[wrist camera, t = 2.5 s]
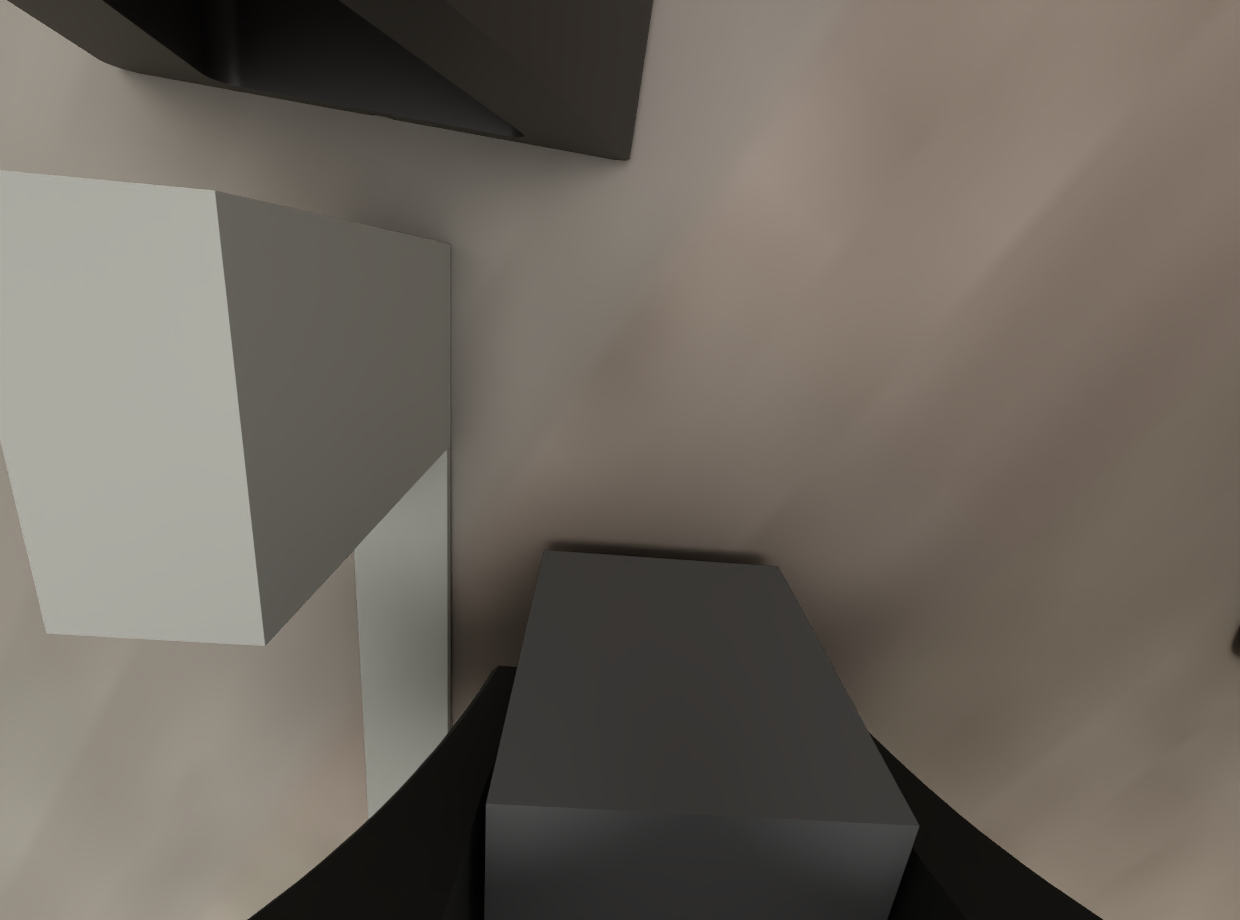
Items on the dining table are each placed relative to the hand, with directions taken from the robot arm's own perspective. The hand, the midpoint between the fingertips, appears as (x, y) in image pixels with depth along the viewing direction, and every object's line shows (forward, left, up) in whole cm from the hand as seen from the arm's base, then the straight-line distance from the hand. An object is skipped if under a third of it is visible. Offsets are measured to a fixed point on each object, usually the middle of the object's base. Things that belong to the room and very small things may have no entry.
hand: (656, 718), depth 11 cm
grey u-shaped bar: (+6, +4, -3) cm, 8 cm away
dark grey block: (0, +1, -2) cm, 2 cm away
